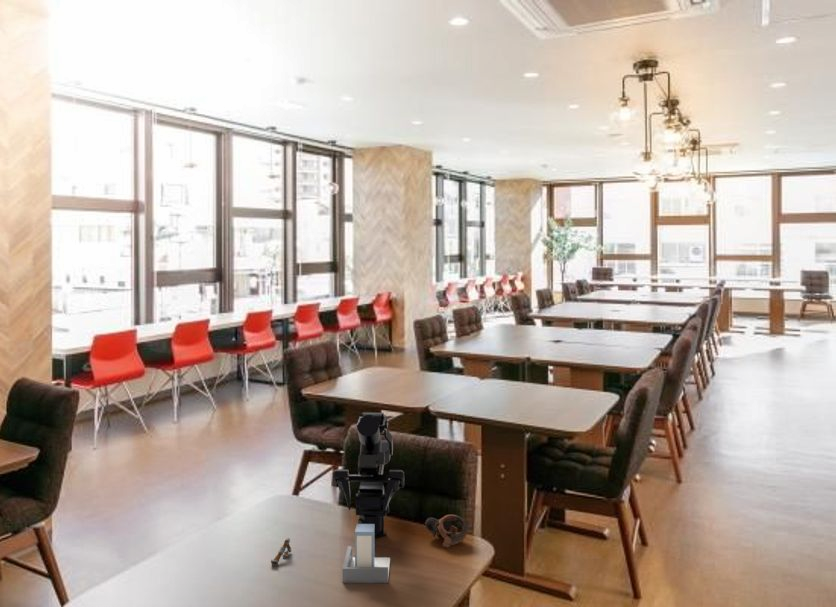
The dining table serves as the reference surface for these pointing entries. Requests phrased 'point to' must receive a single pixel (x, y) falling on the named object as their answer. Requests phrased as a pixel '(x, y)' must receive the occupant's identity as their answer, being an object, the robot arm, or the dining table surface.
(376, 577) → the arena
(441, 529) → the pottery mug
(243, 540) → the dining table surface
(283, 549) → the wooden post with brackets
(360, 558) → the slate block
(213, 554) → the dining table surface
